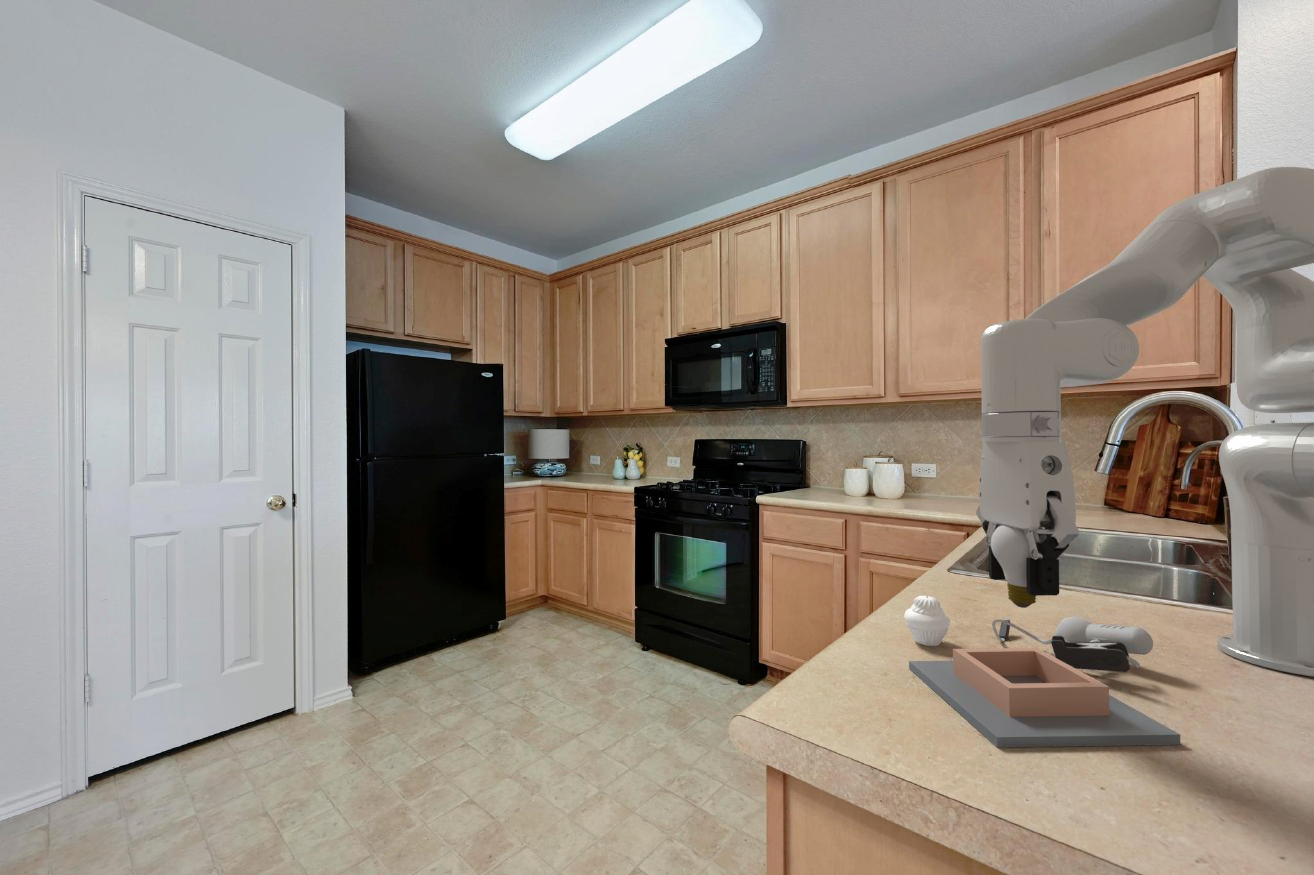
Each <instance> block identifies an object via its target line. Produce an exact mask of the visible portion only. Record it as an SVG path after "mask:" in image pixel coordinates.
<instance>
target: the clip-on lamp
mask: <svg viewBox="0 0 1314 875" xmlns="http://www.w3.org/2000/svg"><path fill="white" fill-rule="evenodd" d="M996 623H1000V628H999V632H998V631H997V627H996ZM991 624H992V630H993V632H994V635H995V637H996V638H997V640H998V641H1000V643H1001V642H1002V643H1004V642H1005V641H1008V640H1009V637H1010V636H1009V635H1010V629H1011V627H1012V628H1014V629H1016V630H1017V631H1019V632H1021V633H1022V634H1024V635H1026V636H1028V637H1030V638H1031V639H1033V640H1035V641H1036V642H1037V643H1038V642H1039V643H1040V644H1043V645H1050V644H1051V646H1052V650H1053V653H1054V657H1055V658H1057V659H1059V660H1061V661H1062V662H1064V663H1066V664H1068V665H1070V666H1072V667H1073V668H1075V669H1077V670H1089V671H1101V672H1116V673H1128V672H1129V671H1130V669H1131V666H1130V664H1131V665H1132V666H1133V667H1136V668H1137V669H1138V668H1140V666H1141V664H1140V662H1138V660H1136V659H1134V658H1133V657H1131V656H1130V655H1141V656H1144V655H1147V654H1149V653H1150V652H1152V649H1153V648H1154V640H1153V638H1152V636H1151V634H1150V633H1149V632H1148V631H1146V630H1145V629H1144V628H1142V627H1140V626H1127V625H1115V624H1114V625H1113V624H1098V623H1092V622H1091V621H1089V620H1088V619H1085V618H1083V617H1079V616H1068V617H1064V618H1062V619H1061V620H1060V622H1059V624H1058V625H1057V627H1056V628H1055V633H1054V634H1055V635H1053V636H1052V637H1051V638H1049V639H1046V640H1044V639H1041V638H1039V637H1037V636H1036V635H1034V634H1032V633H1030V632H1028V631H1026V630H1025V629H1023V628H1021V627H1019V625H1016V624H1013V623H1011V619H1010V618H1009V617H1007V618H1005V619H998V618H997V619H996V618H995V619H993V621H992V623H991ZM1129 654H1130V655H1129Z"/></svg>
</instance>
